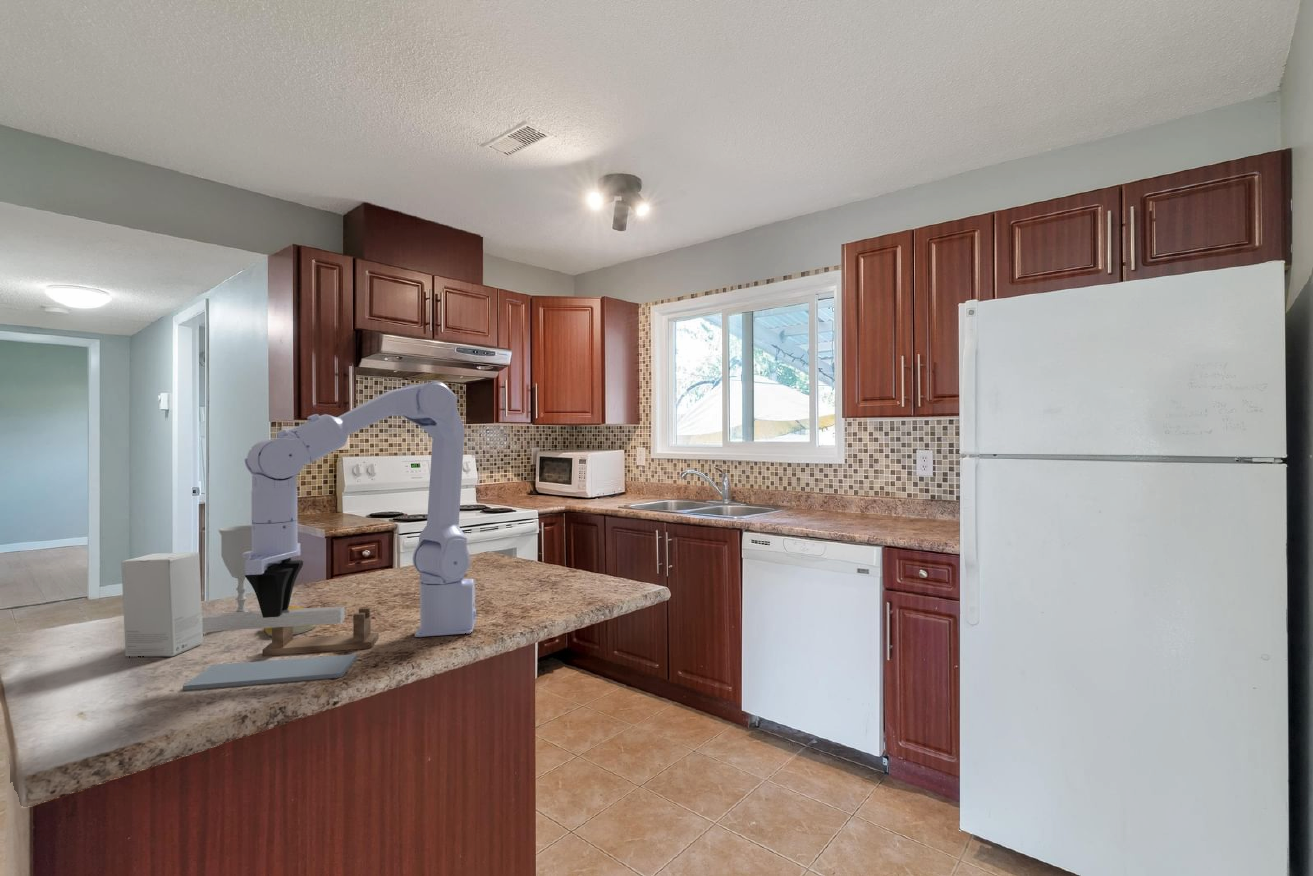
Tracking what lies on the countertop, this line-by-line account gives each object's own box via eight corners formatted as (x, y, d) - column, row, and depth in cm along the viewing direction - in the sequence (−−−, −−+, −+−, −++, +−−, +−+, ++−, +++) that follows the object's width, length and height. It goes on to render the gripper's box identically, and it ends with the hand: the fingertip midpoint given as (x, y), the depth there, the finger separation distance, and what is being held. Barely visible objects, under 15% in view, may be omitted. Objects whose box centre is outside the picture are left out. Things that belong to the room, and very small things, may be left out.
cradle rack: (378, 638, 104) (378, 606, 105) (371, 648, 100) (371, 614, 100) (275, 645, 101) (275, 612, 101) (262, 656, 96) (262, 621, 96)
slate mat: (357, 658, 95) (357, 654, 95) (341, 677, 87) (341, 673, 87) (212, 669, 91) (212, 665, 91) (182, 690, 83) (182, 686, 83)
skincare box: (204, 644, 102) (203, 551, 102) (170, 658, 96) (169, 559, 96) (156, 644, 103) (156, 551, 103) (120, 658, 96) (119, 559, 96)
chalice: (209, 628, 111) (208, 529, 111) (246, 618, 118) (245, 524, 118) (235, 632, 109) (235, 531, 109) (272, 622, 115) (272, 526, 115)
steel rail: (344, 619, 92) (344, 606, 92) (340, 623, 90) (340, 609, 90) (209, 627, 88) (209, 613, 88) (202, 631, 86) (202, 617, 86)
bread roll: (269, 641, 104) (269, 618, 104) (260, 629, 111) (260, 607, 111) (323, 631, 110) (322, 609, 110) (311, 620, 116) (311, 599, 116)
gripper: (265, 516, 95) (265, 603, 95) (219, 529, 81) (220, 631, 81) (314, 514, 97) (315, 600, 97) (278, 527, 83) (278, 627, 83)
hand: (275, 614), depth 89 cm, fingers closed on steel rail, 2 cm apart
